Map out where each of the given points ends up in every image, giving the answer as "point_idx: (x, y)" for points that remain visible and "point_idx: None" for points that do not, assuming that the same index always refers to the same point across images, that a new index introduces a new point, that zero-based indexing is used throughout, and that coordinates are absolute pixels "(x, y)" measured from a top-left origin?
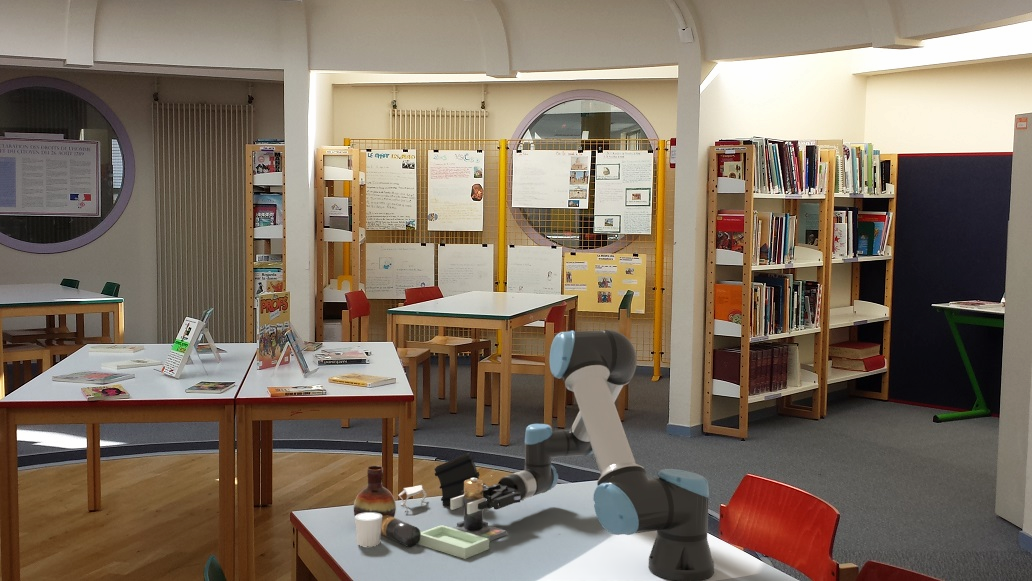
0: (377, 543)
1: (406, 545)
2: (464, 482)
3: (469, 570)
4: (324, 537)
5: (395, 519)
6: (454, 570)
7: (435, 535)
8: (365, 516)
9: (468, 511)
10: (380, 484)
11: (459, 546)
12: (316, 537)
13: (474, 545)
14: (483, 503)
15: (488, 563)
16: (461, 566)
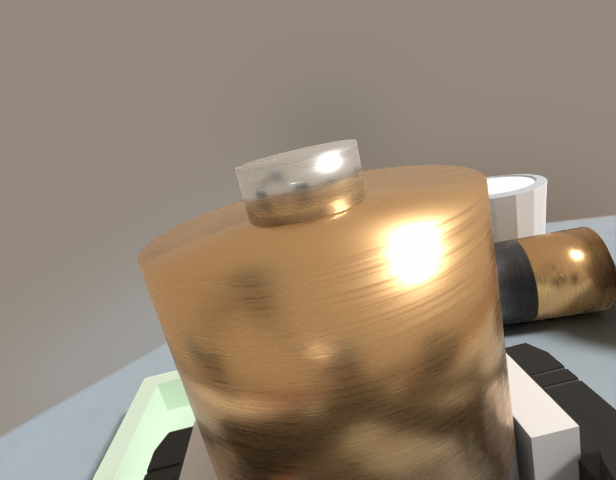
0: None
1: None
2: (368, 173)
3: (99, 389)
4: (603, 223)
5: (510, 243)
6: (145, 362)
7: None
8: (496, 183)
9: None
10: None
11: (175, 371)
12: (608, 216)
13: (125, 422)
14: (153, 466)
15: (46, 459)
16: (139, 384)
